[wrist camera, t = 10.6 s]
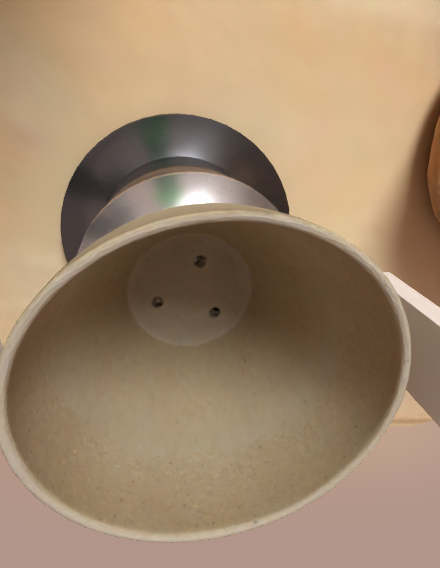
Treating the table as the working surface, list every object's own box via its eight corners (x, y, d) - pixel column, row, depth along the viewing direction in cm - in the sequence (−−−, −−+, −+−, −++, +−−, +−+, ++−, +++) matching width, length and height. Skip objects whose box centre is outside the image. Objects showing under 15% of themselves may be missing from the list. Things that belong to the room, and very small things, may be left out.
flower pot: (219, 410, 18) (256, 569, 12) (18, 325, 15) (-83, 494, 8) (352, 250, 16) (489, 348, 9) (149, 98, 12) (149, 89, 6)
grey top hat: (30, 277, 22) (-24, 355, 15) (124, 58, 18) (109, 29, 11) (217, 351, 26) (240, 436, 20) (325, 190, 22) (400, 226, 16)
